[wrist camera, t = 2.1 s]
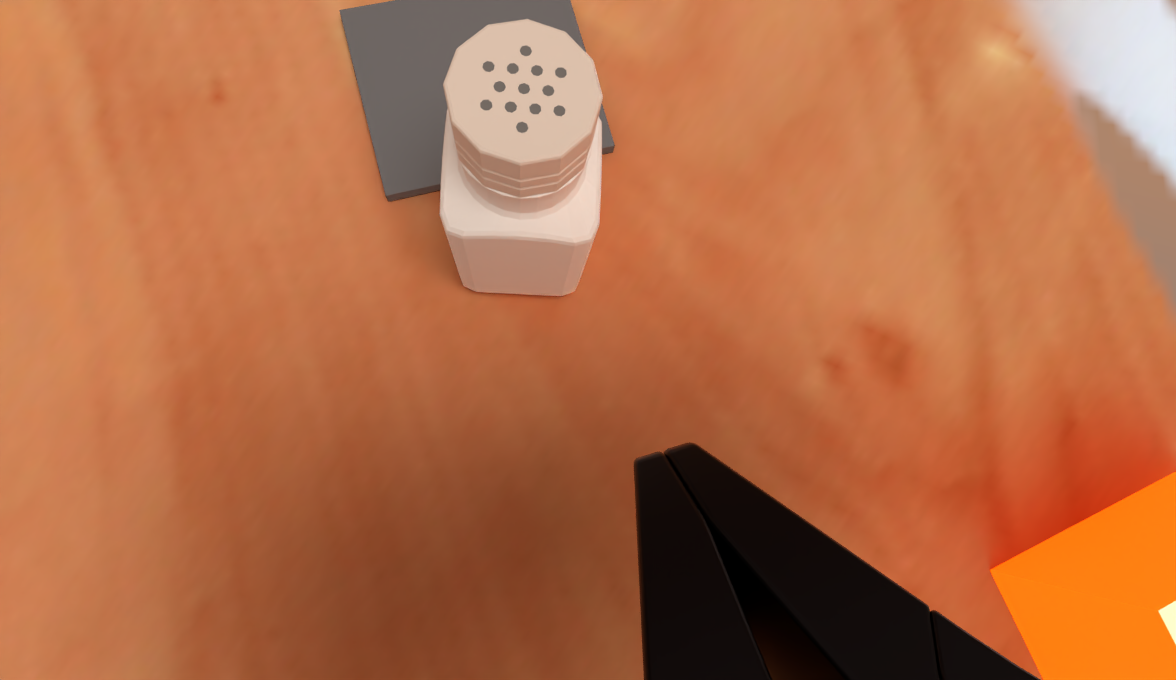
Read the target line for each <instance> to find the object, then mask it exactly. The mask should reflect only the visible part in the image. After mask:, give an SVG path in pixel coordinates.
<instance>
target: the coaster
mask: <svg viewBox="0 0 1176 680" xmlns="http://www.w3.org/2000/svg"><path fill="white" fill-rule="evenodd" d="M340 14H341V18H342V22H343V26H344V30H345V34H346V38H347V42H348V46H349V50H350V54H351V59H352V63H353V67H354V71H355V75H356V79H357V83H358V87H359V91H360V95H361V99H362V103H363V107H364V111H365V115H366V119H367V123H368V127H369V131H370V135H371V139H372V143H373V147H374V151H375V155H376V159H377V163H378V167H379V171H380V175H381V179H382V183H383V187H384V191H385V195H386V197H387V199H388V201H394V200H398V199H403V198H407V197H412V196H416V195H421V194H425V193H430V192H434V191H439V190H440V189H441V170H442V155H443V143H444V132H445V123H446V114H447V109H448V107H447V102H446V97H445V92H444V87H443V83H444V80H445V78H446V75H447V72H448V70H449V67H450V64H451V62H452V59H453V57H454V54H455V51H456V49H457V48H458V47H459V46H460V45H462V44H463V43H464V42H466V41H467V40H468V39H470V38H471V37H472V36H474V35H475V34H476V33H478V32H479V31H480V30H482V29H483V28H484V27H486V26H487V25H489V24H496V23H503V22H510V21H517V20H524V19H529V20H532V21H535V22H538V23H541V24H544V25H547V26H550V27H553V28H556V29H559V30H562V31H565V32H566V33H567V34H568V35H569V36H570V37H571V38H572V39H573V40H574V41H575V42H576V43H577V44H578V45H579V46H580V47H581V48H582V49H583V50H584V51H585V52H586V50H585V47H584V44H583V40H582V37H581V34H580V31H579V27H578V24H577V21H576V18H575V14H574V11H573V8H572V5H571V1H570V0H395V1H389V2H383V3H378V4H372V5H366V6H360V7H355V8H349V9H343V10H340ZM599 118H600V120H601V122H602V154H606V153H611V152H613V150H614V146H615V145H614V142H613V138H612V135H611V132H610V129H609V125H608V122H607V119H606V116H605V112H604V109H603V106H602V104H601V108H600V113H599Z"/></svg>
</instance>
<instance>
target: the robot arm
mask: <svg viewBox="0 0 1176 680" xmlns="http://www.w3.org/2000/svg"><path fill="white" fill-rule="evenodd" d="M634 483H635V503H636V524H637V545H638V566H639V586H640V607H641V628H642V649H643V669H644V680H1040V679H1039V678H1037V677H1035V676H1034V675H1032V674H1030V673H1029V672H1027V671H1025V670H1024V669H1022V668H1020V667H1019V666H1017V665H1016V664H1014V663H1013V662H1011V661H1010V660H1008V659H1007V658H1005V657H1004V656H1002V655H1001V654H999V653H998V652H996V651H995V650H993V649H991V648H990V647H988V646H987V645H985V644H984V643H982V642H981V641H979V640H978V639H976V638H975V637H973V636H972V635H970V634H969V633H967V632H966V631H965V630H963V629H962V628H960V627H959V626H957V625H956V624H954V623H953V622H952V621H950V620H949V619H947V618H946V617H944V616H943V615H942V614H940V613H939V612H937V611H935V610H932V611H931V612H930V609H929V606H928V605H927V604H925V603H924V602H922V601H921V600H920V599H918V598H917V597H915V596H914V595H912V594H911V593H910V592H908V591H907V590H905V589H904V588H902V587H901V586H899V585H898V584H897V583H895V582H894V581H892V580H891V579H889V578H888V577H887V576H885V575H884V574H882V573H881V572H879V571H878V570H876V569H875V568H874V567H872V566H871V565H869V564H868V563H866V562H865V561H864V560H862V559H861V558H859V557H858V556H856V555H855V554H853V553H852V552H851V551H849V550H848V549H846V548H845V547H843V546H842V545H841V544H839V543H838V542H836V541H835V540H833V539H832V538H830V537H829V536H828V535H826V534H825V533H823V532H822V531H820V530H819V529H818V528H816V527H815V526H813V525H812V524H810V523H809V522H807V521H806V520H805V519H803V518H802V517H800V516H799V515H797V514H796V513H795V512H793V511H792V510H790V509H789V508H787V507H786V506H784V505H783V504H782V503H780V502H779V501H777V500H776V499H774V498H773V497H771V496H770V495H769V494H767V493H766V492H764V491H763V490H761V489H760V488H759V487H757V486H756V485H754V484H753V483H751V482H750V481H748V480H747V479H746V478H744V477H743V476H741V475H740V474H738V473H737V472H736V471H734V470H733V469H731V468H730V467H728V466H727V465H725V464H724V463H723V462H721V461H720V460H718V459H717V458H715V457H714V456H713V455H711V454H710V453H708V452H707V451H705V450H704V449H702V448H701V447H700V446H698V445H697V444H694V443H685V444H682V445H678V446H675V447H672V448H668V449H667V450H665V451H664V454H663V453H662V452H655V453H652V454H648V455H645V456H642V457H638V458H636V459H635V461H634Z"/></svg>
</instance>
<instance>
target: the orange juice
mask: <svg viewBox="0 0 1176 680" xmlns="http://www.w3.org/2000/svg"><path fill="white" fill-rule="evenodd" d="M990 572H991V574H992V576H993V578H994V580H995V582H996V584H997V586H998V588H999V590H1000V592H1001V594H1002V596H1003V598H1004V600H1005V602H1006V604H1007V607H1008V609H1009V611H1010V613H1011V615H1012V617H1013V619H1014V621H1015V623H1016V625H1017V627H1018V629H1019V631H1020V633H1021V635H1022V637H1023V639H1024V641H1025V643H1026V645H1027V647H1028V649H1029V651H1030V653H1031V656H1032V658H1033V660H1034V662H1035V664H1036V666H1037V668H1038V670H1039V672H1040V674H1041V676H1042V678H1043V680H1176V472H1174V473H1172V474H1170V475H1168V476H1166V477H1164V478H1162V479H1160V480H1159V481H1157V482H1155V483H1153V484H1151V485H1149V486H1147V487H1145V488H1143V489H1142V490H1140V491H1138V492H1136V493H1134V494H1132V495H1130V496H1128V497H1127V498H1125V499H1123V500H1121V501H1119V502H1117V503H1115V504H1113V505H1111V506H1110V507H1108V508H1106V509H1104V510H1102V511H1100V512H1098V513H1096V514H1094V515H1093V516H1091V517H1089V518H1087V519H1085V520H1083V521H1081V522H1079V523H1077V524H1076V525H1074V526H1072V527H1070V528H1068V529H1066V530H1064V531H1062V532H1061V533H1059V534H1057V535H1055V536H1053V537H1051V538H1049V539H1047V540H1045V541H1044V542H1042V543H1040V544H1038V545H1036V546H1034V547H1032V548H1030V549H1028V550H1027V551H1025V552H1023V553H1021V554H1019V555H1017V556H1015V557H1013V558H1011V559H1010V560H1008V561H1006V562H1004V563H1002V564H1000V565H998V566H996V567H994V568H993V569H991V570H990Z"/></svg>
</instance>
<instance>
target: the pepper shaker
mask: <svg viewBox="0 0 1176 680" xmlns="http://www.w3.org/2000/svg"><path fill="white" fill-rule="evenodd" d="M443 87H444V92H445V97H446V102H447V107H448V109H447V114H446V123H445V132H444V143H443V155H442V170H441V189H440V218H441V221H442V224H443V227H444V230H445V233H446V236H447V239H448V242H449V245H450V248H451V251H452V254H453V257H454V260H455V263H456V266H457V270H458V273H459V275H460V278H461V281H462V284H463V286H464V287H467V288H469V289H471V290H473V291H475V292H488V293H508V294H527V295H547V296H564V295H567V294H569V293H572V292H575V290H576V287H577V285H578V283H579V281H580V279H581V276H582V273H583V270H584V267H585V264H586V261H587V259H588V256H589V253H590V250H591V247H592V244H593V241H594V238H595V236H596V233H597V230H598V227H599V221H600V200H601V174H602V122H601V120H600V118H599V113H600V108H601V104H602V100H603V95H602V91H601V88H600V84H599V80H598V76H597V72H596V68H595V64H594V61H593V59H592V58H591V57H590V56H589V55H588V54H587V53H586V52H585V51H584V50H583V49H582V48H581V47H580V46H579V45H578V44H577V43H576V42H575V41H574V40H573V39H572V38H571V37H570V36H569V35H568V34H567V33H566V32H565V31H562V30H559V29H556V28H553V27H550V26H547V25H544V24H541V23H538V22H535V21H532V20H529V19H524V20H517V21H510V22H503V23H496V24H489V25H487V26H486V27H484V28H483V29H482V30H480V31H479V32H478V33H476V34H475V35H474V36H472V37H471V38H470V39H468V40H467V41H466V42H464V43H463V44H462V45H460V46H459V47H458V48H457V49H456V51H455V54H454V57H453V59H452V62H451V64H450V67H449V70H448V72H447V75H446V78H445V80H444V83H443Z"/></svg>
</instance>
